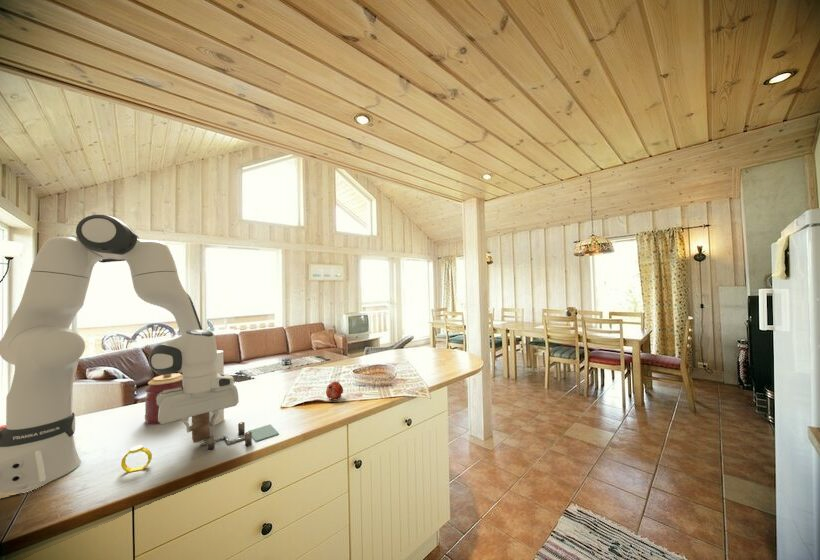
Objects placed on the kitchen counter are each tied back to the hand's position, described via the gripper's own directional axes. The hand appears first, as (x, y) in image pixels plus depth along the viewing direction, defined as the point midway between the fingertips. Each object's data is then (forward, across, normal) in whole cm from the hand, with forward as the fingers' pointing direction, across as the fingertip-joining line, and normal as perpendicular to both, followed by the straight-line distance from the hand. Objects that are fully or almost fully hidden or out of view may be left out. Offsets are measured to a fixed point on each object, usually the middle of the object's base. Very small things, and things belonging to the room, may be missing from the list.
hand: (200, 428), depth 92 cm
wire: (+5, +6, -3) cm, 9 cm away
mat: (+5, +16, -5) cm, 18 cm away
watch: (+5, -15, -3) cm, 16 cm away
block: (+3, 0, 0) cm, 3 cm away
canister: (+6, -6, +35) cm, 36 cm away
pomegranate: (+6, +48, +7) cm, 49 cm away
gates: (+5, +6, -3) cm, 9 cm away
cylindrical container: (+6, +5, +18) cm, 20 cm away
